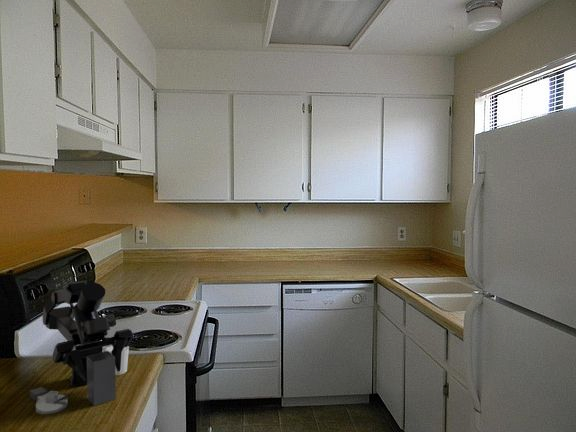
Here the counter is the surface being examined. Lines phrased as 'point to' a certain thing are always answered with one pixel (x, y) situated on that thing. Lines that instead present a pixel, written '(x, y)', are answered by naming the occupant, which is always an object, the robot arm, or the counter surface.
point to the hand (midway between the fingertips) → (102, 375)
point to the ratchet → (48, 401)
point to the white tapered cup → (123, 359)
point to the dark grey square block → (101, 378)
